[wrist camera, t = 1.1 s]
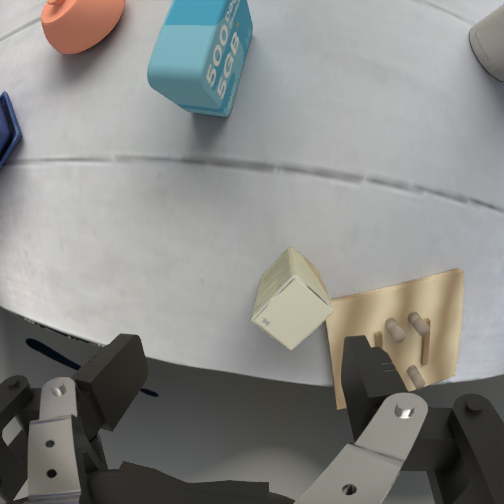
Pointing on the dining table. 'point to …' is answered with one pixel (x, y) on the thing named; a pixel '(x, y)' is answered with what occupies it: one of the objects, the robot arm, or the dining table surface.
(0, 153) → the flower pot
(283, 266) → the box
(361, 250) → the dining table surface
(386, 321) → the tray
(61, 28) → the sugar bowl
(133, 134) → the dining table surface
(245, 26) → the data package
